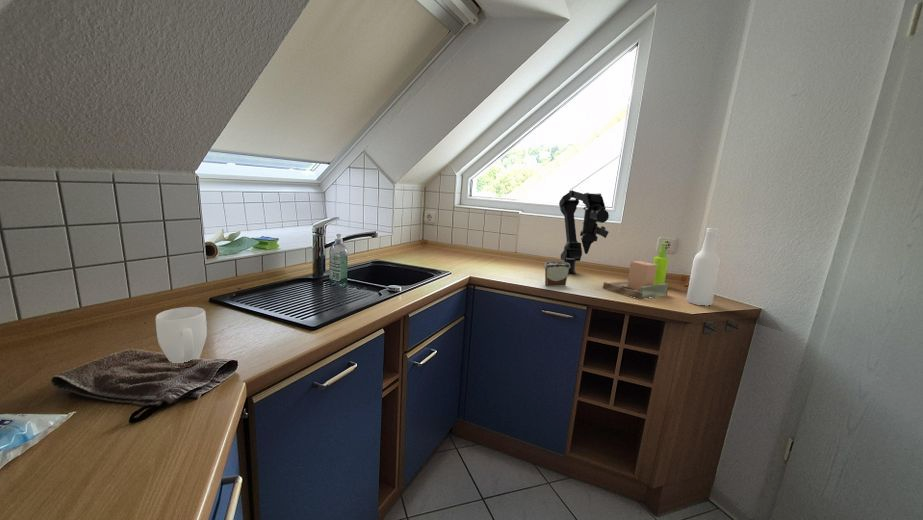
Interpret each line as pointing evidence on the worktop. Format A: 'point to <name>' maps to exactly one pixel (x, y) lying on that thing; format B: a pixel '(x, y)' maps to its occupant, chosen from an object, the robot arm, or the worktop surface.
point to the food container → (556, 273)
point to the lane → (640, 294)
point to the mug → (182, 333)
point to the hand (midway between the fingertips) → (586, 253)
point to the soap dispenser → (661, 265)
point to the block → (641, 274)
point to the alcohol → (704, 271)
